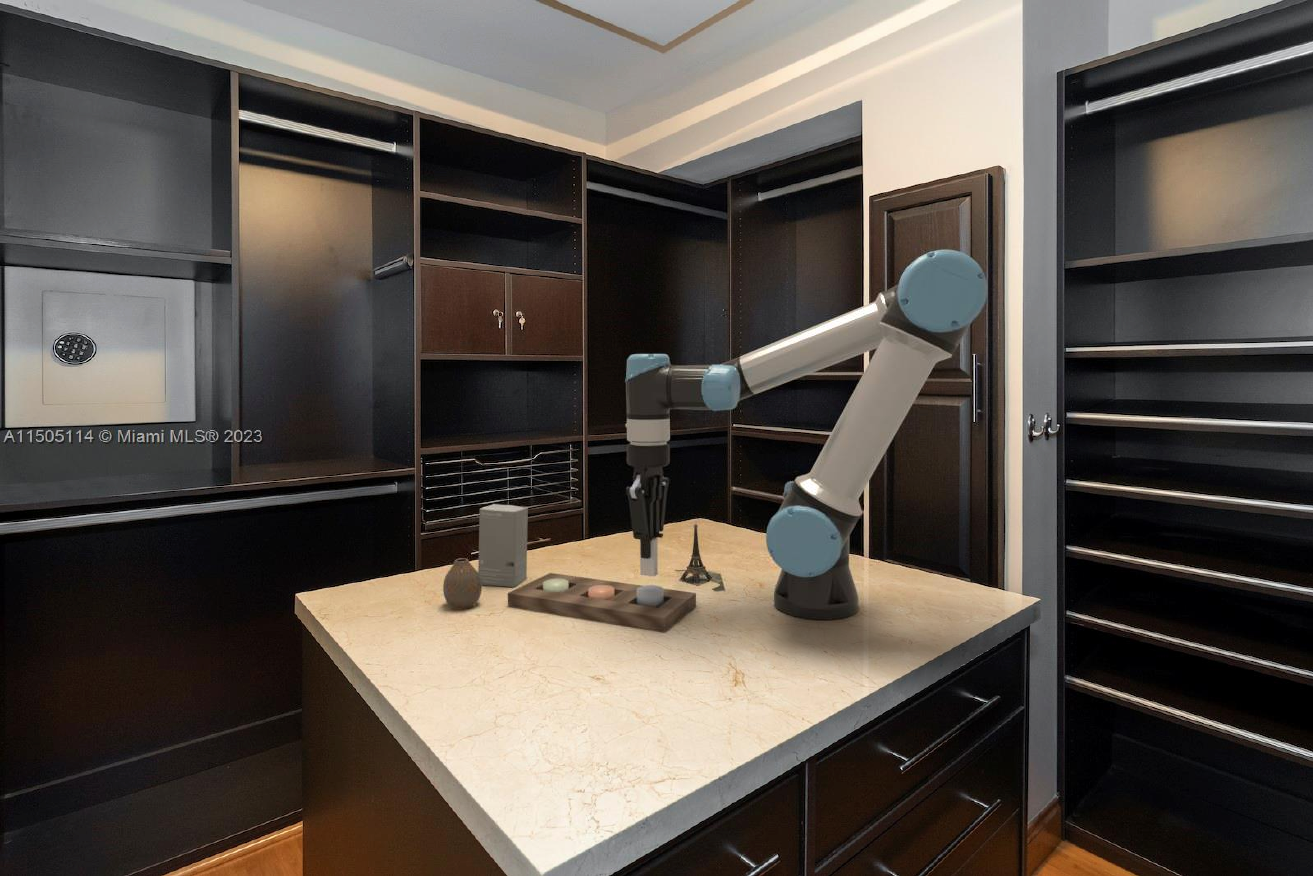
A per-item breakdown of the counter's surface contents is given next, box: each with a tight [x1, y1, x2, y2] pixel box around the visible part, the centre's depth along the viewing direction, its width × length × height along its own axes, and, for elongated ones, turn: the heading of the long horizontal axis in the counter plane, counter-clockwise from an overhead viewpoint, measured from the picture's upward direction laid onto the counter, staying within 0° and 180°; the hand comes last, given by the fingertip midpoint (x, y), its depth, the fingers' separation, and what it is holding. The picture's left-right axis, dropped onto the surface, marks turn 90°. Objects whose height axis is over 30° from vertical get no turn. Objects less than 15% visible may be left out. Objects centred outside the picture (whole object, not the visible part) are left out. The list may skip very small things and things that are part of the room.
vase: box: [442, 557, 483, 610], centre depth 129 cm, size 7×7×9 cm
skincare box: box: [477, 503, 529, 588], centre depth 143 cm, size 8×7×16 cm
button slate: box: [637, 584, 664, 608], centre depth 124 cm, size 5×5×3 cm
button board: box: [507, 572, 697, 633], centre depth 128 cm, size 32×14×2 cm, turn 65°
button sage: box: [543, 579, 569, 593], centre depth 133 cm, size 5×5×3 cm
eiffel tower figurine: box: [674, 523, 726, 592], centre depth 143 cm, size 15×10×13 cm
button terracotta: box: [588, 585, 614, 600], centre depth 128 cm, size 5×5×3 cm
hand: (649, 574), depth 124 cm, fingers closed
